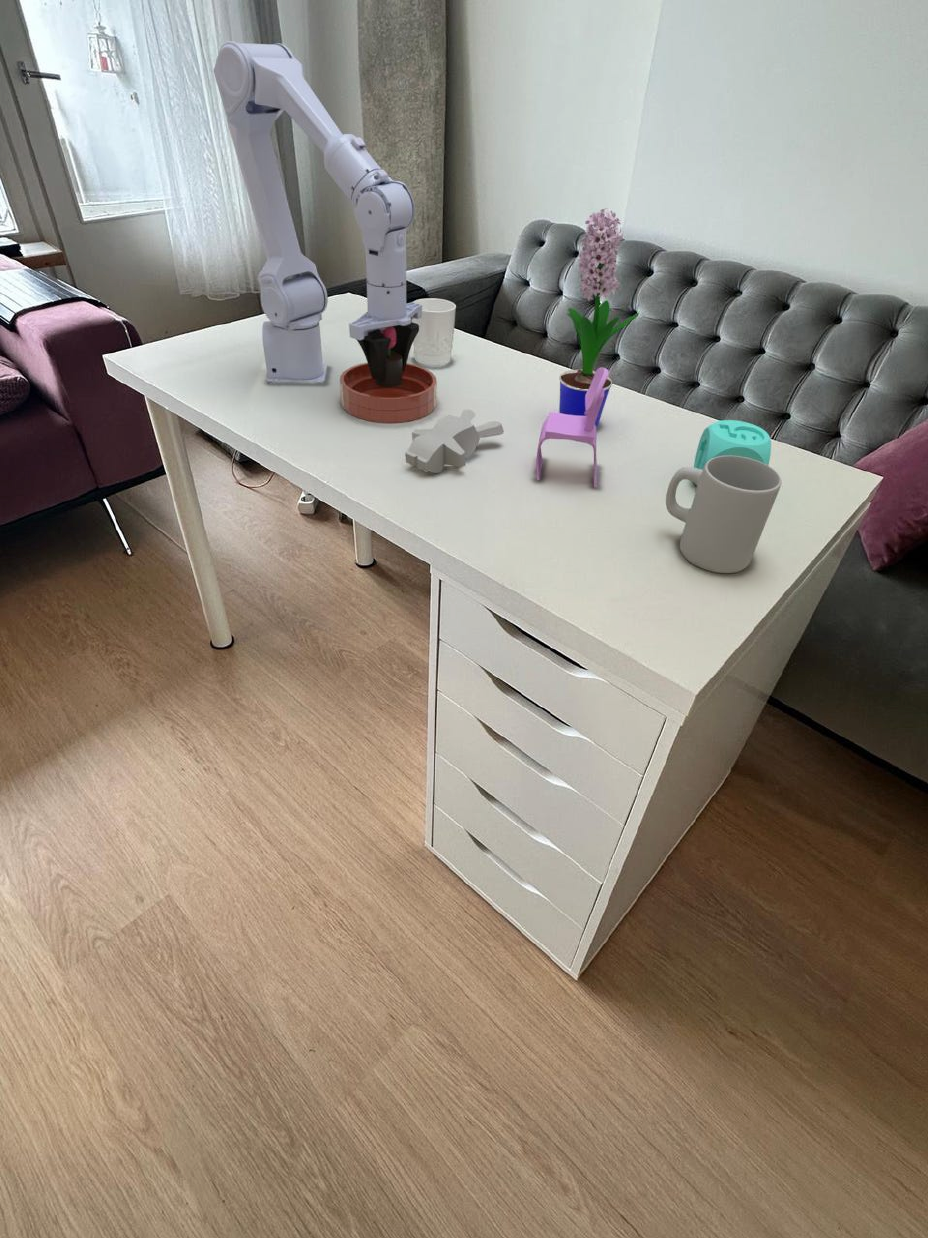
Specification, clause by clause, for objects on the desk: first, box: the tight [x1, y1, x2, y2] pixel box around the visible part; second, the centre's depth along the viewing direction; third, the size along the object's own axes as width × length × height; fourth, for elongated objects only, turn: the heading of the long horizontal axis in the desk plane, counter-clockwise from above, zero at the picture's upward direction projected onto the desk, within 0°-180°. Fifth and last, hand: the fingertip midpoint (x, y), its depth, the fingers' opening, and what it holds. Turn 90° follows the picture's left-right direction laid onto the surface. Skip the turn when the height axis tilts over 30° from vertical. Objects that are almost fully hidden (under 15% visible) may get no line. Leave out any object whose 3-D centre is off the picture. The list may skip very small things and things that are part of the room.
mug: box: [665, 456, 782, 574], centre depth 79 cm, size 12×8×11 cm
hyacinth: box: [558, 207, 640, 430], centre depth 98 cm, size 9×10×30 cm
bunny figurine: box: [404, 409, 505, 474], centre depth 96 cm, size 10×5×15 cm
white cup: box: [412, 297, 457, 367], centre depth 122 cm, size 8×8×10 cm
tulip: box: [375, 326, 402, 387], centre depth 104 cm, size 4×4×9 cm
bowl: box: [339, 362, 438, 424], centre depth 108 cm, size 15×15×4 cm
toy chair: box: [535, 366, 610, 489], centre depth 90 cm, size 8×9×15 cm
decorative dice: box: [693, 419, 772, 470], centre depth 93 cm, size 8×8×8 cm
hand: (388, 374), depth 106 cm, fingers closed on tulip, 4 cm apart
